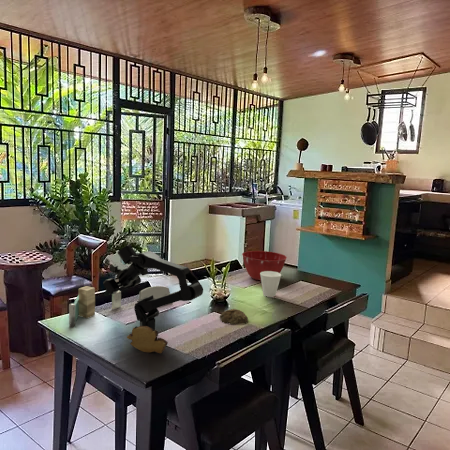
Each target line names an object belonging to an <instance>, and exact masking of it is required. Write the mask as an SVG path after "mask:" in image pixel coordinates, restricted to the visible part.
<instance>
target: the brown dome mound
mask: <svg viewBox="0 0 450 450" xmlns="http://www.w3.org/2000/svg"><path fill="white" fill-rule="evenodd" d="M219 318H220V322H221V321H222V322H221V323H223V322H224V323H223V324H229V323H230V324H229V325H237V324H236V323H245V324H247V323H248V322H249V319H248V316H247V315H246V313H244V311H242V310H240V309H236V308H231V309H227V310H225V311H222V313H221V314H220V315H219ZM246 322H247V323H246Z"/></svg>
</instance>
